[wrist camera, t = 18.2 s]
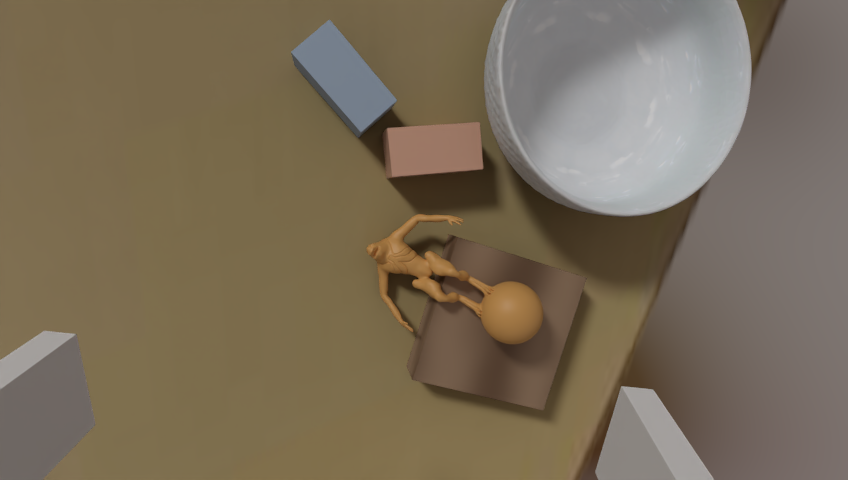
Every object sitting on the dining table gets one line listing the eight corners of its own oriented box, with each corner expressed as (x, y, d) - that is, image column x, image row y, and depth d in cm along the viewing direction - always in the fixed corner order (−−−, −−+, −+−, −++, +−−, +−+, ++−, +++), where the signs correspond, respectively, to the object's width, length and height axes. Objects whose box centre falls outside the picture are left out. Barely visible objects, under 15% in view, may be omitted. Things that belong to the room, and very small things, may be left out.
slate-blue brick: (294, 66, 29) (291, 52, 26) (329, 37, 29) (329, 19, 26) (357, 138, 30) (361, 132, 27) (390, 109, 31) (397, 100, 28)
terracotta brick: (386, 178, 31) (392, 176, 28) (381, 134, 31) (387, 128, 28) (469, 171, 32) (483, 169, 29) (466, 128, 32) (479, 122, 29)
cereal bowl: (418, 138, 31) (444, 122, 24) (533, -71, 31) (590, -146, 24) (606, 252, 35) (674, 266, 28) (707, 65, 35) (799, 33, 28)
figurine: (518, 393, 28) (336, 327, 26) (497, 348, 34) (347, 291, 32) (580, 276, 26) (391, 197, 25) (546, 249, 32) (391, 184, 30)
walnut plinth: (405, 363, 33) (412, 380, 30) (446, 233, 33) (458, 237, 30) (525, 392, 35) (543, 410, 32) (565, 271, 35) (586, 278, 32)
